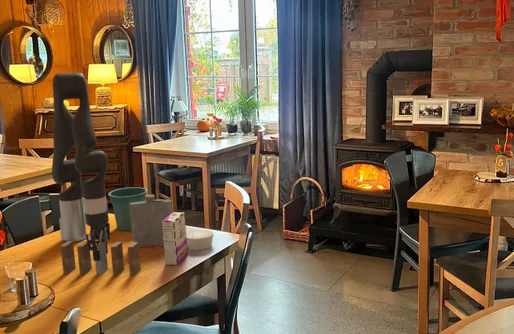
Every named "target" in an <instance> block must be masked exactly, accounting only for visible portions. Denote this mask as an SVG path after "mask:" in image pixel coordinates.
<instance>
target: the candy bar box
mask: <svg viewBox="0 0 514 334" xmlns="http://www.w3.org/2000/svg"><path fill="white" fill-rule="evenodd" d="M162 231H163V241H164V245H163V249H164V262H165V263H164V264H165V265H166V266H179V265H180V263H182V261H183V260H184V259H185V258H186V257H187V256H188V254H189V252H188V248H187V239H186V233H187V230H186V217H185V212H179V211H178V212H177V211H172V213H171V214H170V215H169V216H168V217H166V218H165V219H164V220H163V221H162Z"/></svg>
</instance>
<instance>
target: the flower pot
mask: <svg viewBox="0 0 514 334" xmlns="http://www.w3.org/2000/svg"><path fill="white" fill-rule="evenodd" d="M147 192H148V189H147V188H145V187H135V186H134V187H132V186H131V187H123V188H118V189H114V190H112V191H110V192H108V196H109V198H110V203H111V205H112V210H113V213H114V214H113V216H114V219H115V224H116V228H117V230H118V231H123V232H132V227H131V215H130V203H133V202H141V201H146V198H145V196H146V195H147Z"/></svg>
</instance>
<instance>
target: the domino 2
mask: <svg viewBox="0 0 514 334" xmlns="http://www.w3.org/2000/svg"><path fill="white" fill-rule="evenodd" d="M76 249H77V258H78V268H79V275H87V273H88V272H89V271H91V270H92V269H93V268H92V256H91V251H89V250H88V245H87V240H85V241H83V242H80V243H79V244H78V245H77V246H76Z"/></svg>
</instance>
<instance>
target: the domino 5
mask: <svg viewBox="0 0 514 334" xmlns="http://www.w3.org/2000/svg"><path fill="white" fill-rule="evenodd" d="M127 256H128V266H129V267H128V268H129V276H137V274H139V272H140V271H141V270H142V266H141V256H140V247H139V242H133V241H132V242H131V243H130V244H129V245H128V246H127Z"/></svg>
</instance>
